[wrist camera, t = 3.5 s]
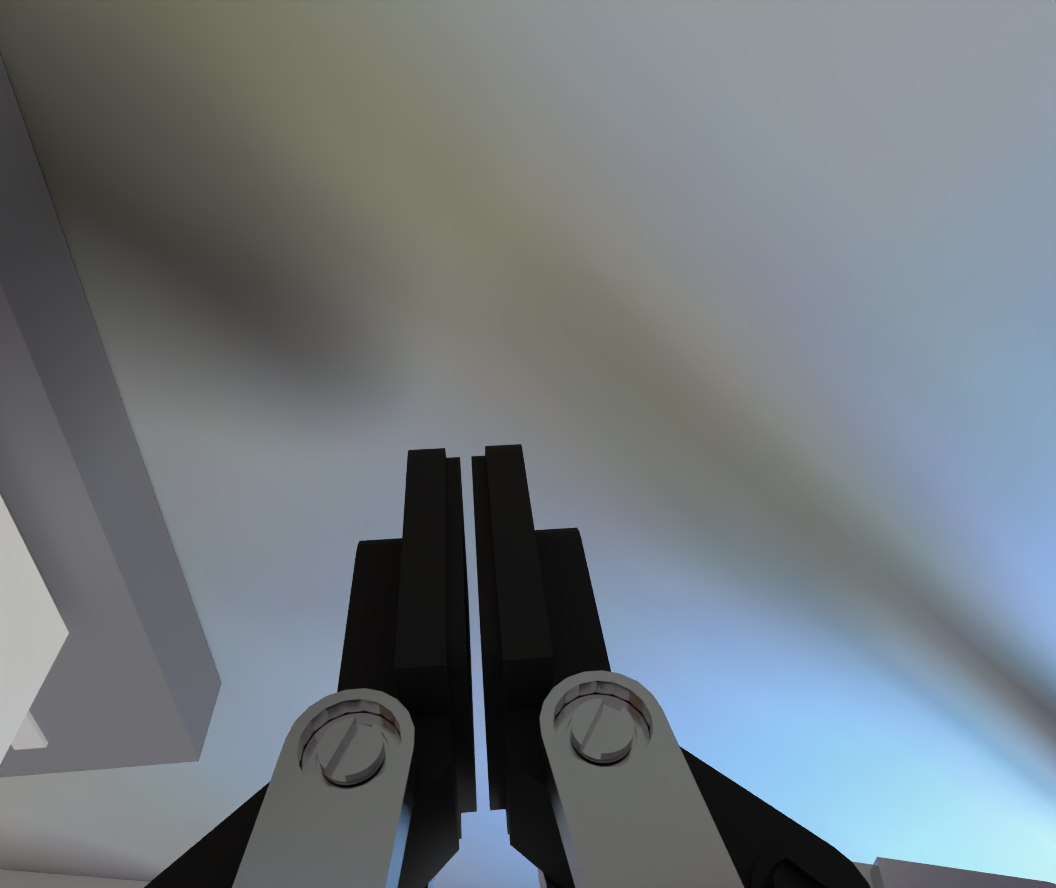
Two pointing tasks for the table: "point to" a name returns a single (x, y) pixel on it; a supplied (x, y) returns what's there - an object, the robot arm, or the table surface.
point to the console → (86, 512)
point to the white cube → (62, 881)
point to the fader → (23, 630)
